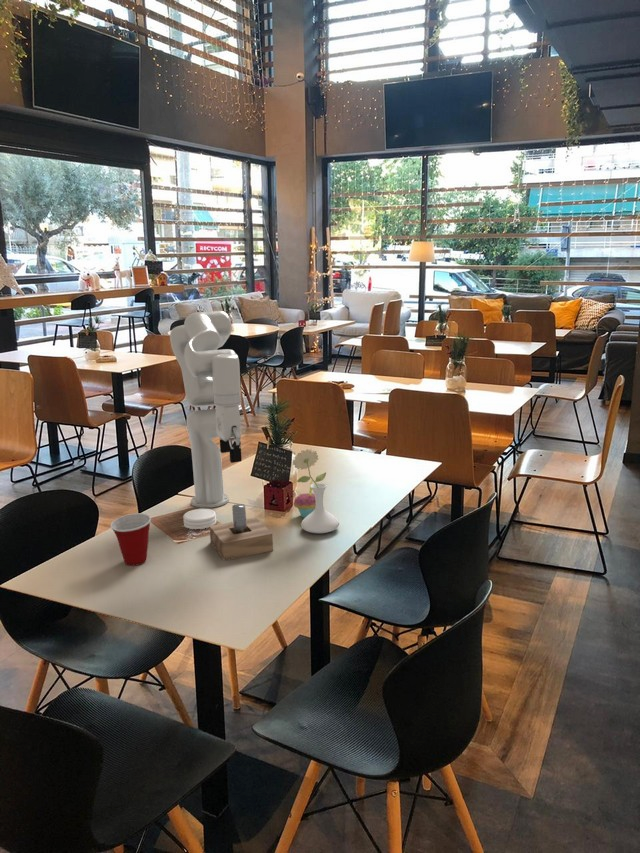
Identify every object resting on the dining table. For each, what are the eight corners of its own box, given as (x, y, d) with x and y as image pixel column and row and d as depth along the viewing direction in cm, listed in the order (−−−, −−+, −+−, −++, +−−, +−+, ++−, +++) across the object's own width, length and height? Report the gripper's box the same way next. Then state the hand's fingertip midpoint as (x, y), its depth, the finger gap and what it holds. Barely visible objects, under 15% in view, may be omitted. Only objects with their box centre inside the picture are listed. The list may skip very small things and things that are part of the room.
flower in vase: (338, 521, 214) (335, 442, 208) (340, 536, 203) (338, 453, 197) (295, 523, 214) (291, 444, 208) (295, 538, 203) (291, 455, 197)
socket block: (210, 542, 202) (209, 526, 201) (256, 533, 207) (255, 517, 206) (224, 560, 189) (223, 543, 188) (273, 550, 195) (272, 533, 193)
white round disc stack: (199, 533, 210) (198, 521, 209) (177, 526, 216) (176, 515, 215) (223, 522, 217) (222, 512, 216) (201, 516, 223) (200, 505, 222)
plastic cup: (105, 564, 189) (101, 523, 186) (136, 550, 198) (132, 510, 195) (133, 573, 183) (128, 530, 180) (163, 558, 192) (159, 517, 189)
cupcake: (326, 513, 221) (325, 477, 218) (311, 522, 214) (310, 485, 211) (304, 509, 226) (303, 473, 223) (289, 517, 219) (287, 481, 216)
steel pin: (233, 545, 199) (230, 505, 196) (245, 542, 201) (242, 503, 198) (237, 549, 196) (234, 509, 193) (249, 547, 197) (246, 507, 195)
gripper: (206, 393, 201) (210, 450, 206) (223, 407, 186) (226, 467, 191) (231, 391, 204) (234, 446, 209) (250, 403, 189) (252, 463, 194)
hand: (230, 456), depth 200 cm, fingers open, 9 cm apart
